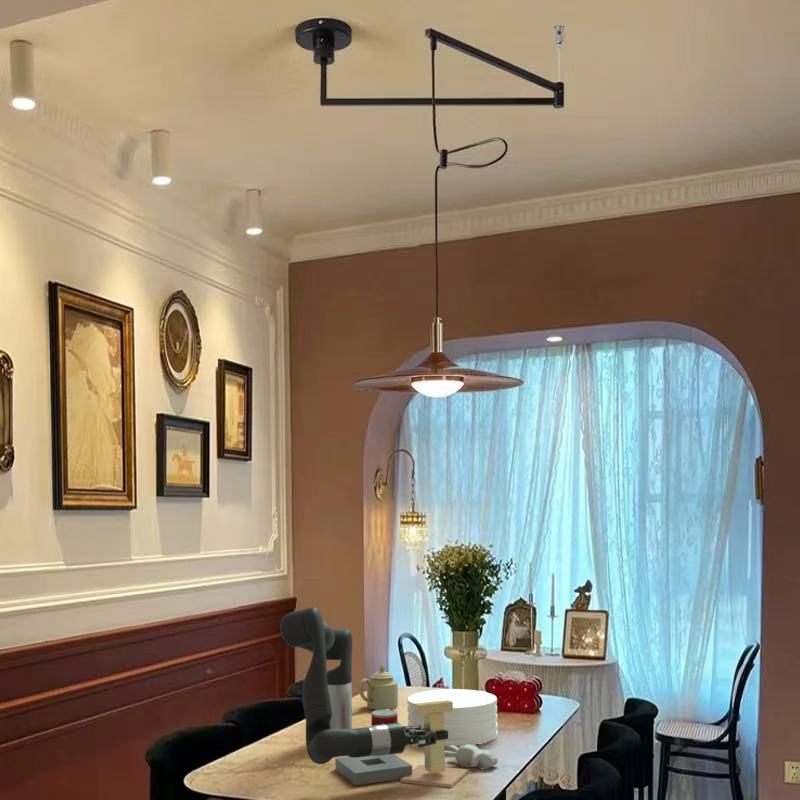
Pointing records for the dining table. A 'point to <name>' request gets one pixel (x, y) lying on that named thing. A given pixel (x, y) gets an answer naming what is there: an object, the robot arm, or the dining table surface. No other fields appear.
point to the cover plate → (372, 768)
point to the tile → (435, 777)
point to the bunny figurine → (472, 756)
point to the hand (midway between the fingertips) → (443, 732)
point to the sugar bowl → (380, 691)
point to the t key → (434, 723)
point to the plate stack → (461, 715)
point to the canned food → (384, 717)
